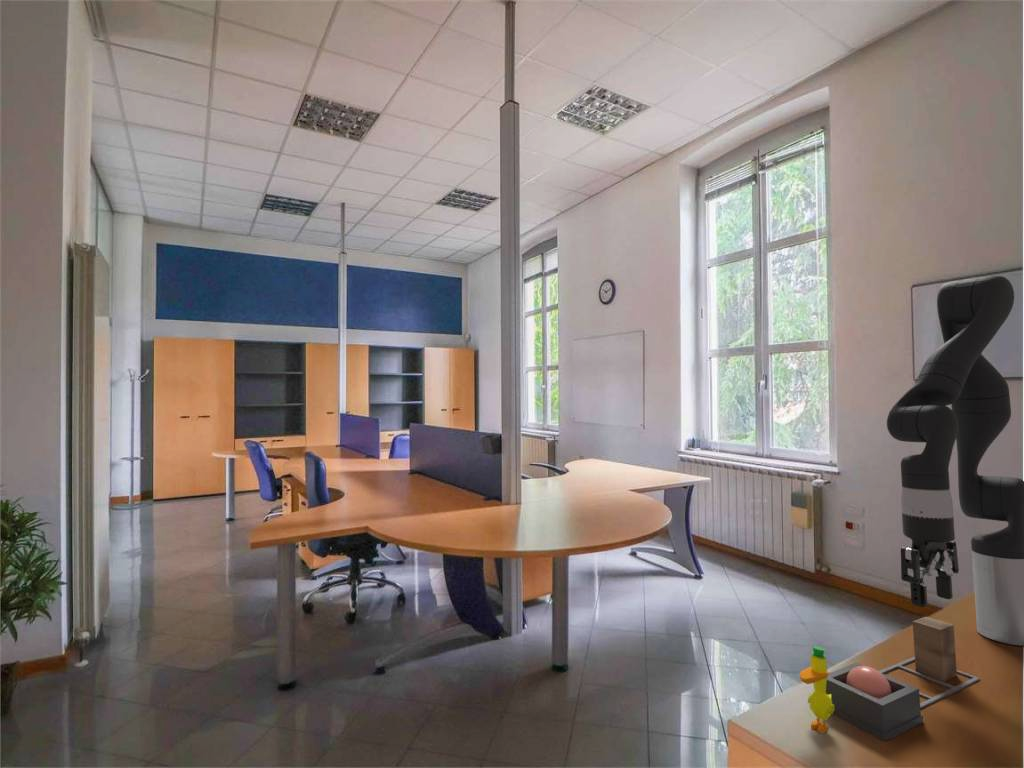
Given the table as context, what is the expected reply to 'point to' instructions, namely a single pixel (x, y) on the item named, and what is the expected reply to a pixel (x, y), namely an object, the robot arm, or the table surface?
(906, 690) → the housing
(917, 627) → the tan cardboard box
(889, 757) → the table surface
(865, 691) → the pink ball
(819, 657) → the toy figure
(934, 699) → the frame
